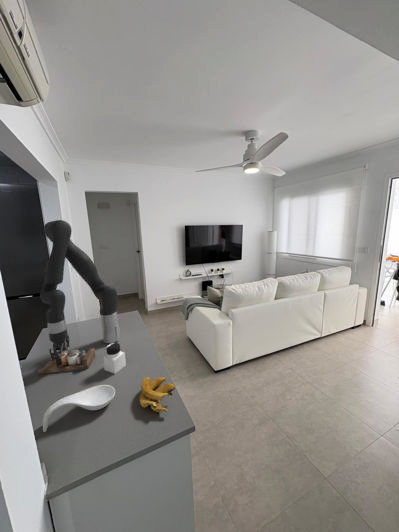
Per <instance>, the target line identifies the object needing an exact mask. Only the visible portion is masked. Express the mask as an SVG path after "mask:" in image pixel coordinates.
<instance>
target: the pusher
mask: <svg viewBox="0 0 399 532" xmlns="http://www.w3.org/2000/svg"><path fill="white" fill-rule="evenodd" d="M79 352H80V353H79V354H78V357H77V365H81V364H82V363H83V361H82V360H83V358H84V357H85V355H86V350H80V351H79Z"/></svg>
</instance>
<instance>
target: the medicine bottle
mask: <svg viewBox="0 0 399 532" xmlns="http://www.w3.org/2000/svg"><path fill="white" fill-rule="evenodd" d="M105 349H106V354H105V355H104V356H103V357H102V360H103V368H104V369H103V370H104V371H106V372H109V373H112V374H114V375H116V374H117V373H118V372H120V371H121V370H122V369H124V368H125V367H126V365H127V363H126V362H127V361H126V353H125V351H121V345H120V343H119V342H113V343H108V345H106V348H105Z"/></svg>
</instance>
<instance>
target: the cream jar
mask: <svg viewBox="0 0 399 532" xmlns="http://www.w3.org/2000/svg"><path fill="white" fill-rule="evenodd" d="M67 352H68V353H67V361H68V366H77V357H78V354H79V353H80V351H79V349H71V350H70V351H67Z"/></svg>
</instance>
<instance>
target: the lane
mask: <svg viewBox="0 0 399 532" xmlns="http://www.w3.org/2000/svg"><path fill="white" fill-rule="evenodd" d="M95 358H96V351H95V347H93V348H89V350H88V351H87V352H86V353H85V357H84V358H83V360H82V361H83V363H82V364H81V365H77V366H68V364H67V365H65V366H63V367H56V363H55V360H52V358H51V357H50V358H49V359H48V362H47V363H46V364H45V365H44V367H42V368H39V370H38V374H48V373H49V374H51V373H58V372H59V373H61V372H69V371H79V370H81V371H82V370H88V369H89V368H90V366H91V364H92V363H93V361H95V360H94V359H95Z"/></svg>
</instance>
